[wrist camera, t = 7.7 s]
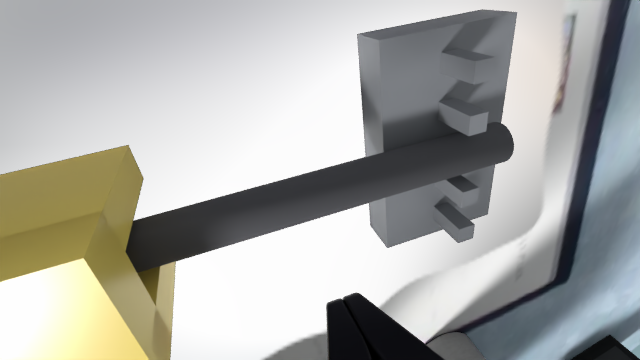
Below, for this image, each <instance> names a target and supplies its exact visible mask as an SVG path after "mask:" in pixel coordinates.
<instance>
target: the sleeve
mask: <svg viewBox="0 0 640 360" xmlns="http://www.w3.org/2000/svg"><path fill="white" fill-rule="evenodd" d="M142 182H143V176H142V174H141V172H140V170H139V167H138V165H137V163H136V161H135V159H134V156H133V154H132V152H131V150H130V148H129V145H126V146H122V147H118V148H113V149H109V150H105V151H100V152H96V153H92V154H87V155H83V156H79V157H74V158H70V159H66V160H62V161H57V162H53V163H49V164H45V165H40V166H36V167H31V168H27V169H23V170H19V171H14V172H10V173H6V174H1V175H0V360H170V354H171V334H172V318H173V299H174V282H175V281H174V280H175V264H176V261H175V262H172V263H169V264H166V265H162V266H159V267H156V268H152V269H149V270H146V271H142V272H139V273H137V272H136V270H135V268H134V266H133V265H132V263H131V261H130V259H129V257H128V256H127V254H126V252H125V251H126V247H127V243H128V239H129V235H130V231H131V227H132V223H133V219H134V215H135V211H136V207H137V203H138V199H139V195H140V190H141V186H142Z"/></svg>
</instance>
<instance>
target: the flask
mask: <svg viewBox="0 0 640 360" xmlns="http://www.w3.org/2000/svg"><path fill="white" fill-rule="evenodd" d="M427 346H428V347H430V348H431V349H432V350H434V351H435V352H436V353H437V354H439V355H440V356H441V357H443V358H444V359H445V360H486V359H485V358H484V356H483V355H482V354H481V353H480V351H479V350H478V349H477V348H476V346H475V345H474V344H473V342H472V341H471V340H470V339H469V337H468V336H467V335H466V334H463V333H459V332H452V333H446V334H443V335H441V336H439V337H436V338H435V339H433V340H432V341H431V342H429V343H428V344H427Z"/></svg>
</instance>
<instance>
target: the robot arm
mask: <svg viewBox="0 0 640 360" xmlns="http://www.w3.org/2000/svg"><path fill="white" fill-rule="evenodd" d="M326 309H327V345H328V360H445V359H444V358H443V357H441V356H440V355H439V354H437V353H436V352H435V351H434V350H432V349H431V348H430V347H428V346H427V345H426V344H424V343H423V342H422V341H421V340H419V339H418V338H417V337H415V336H414V335H413V334H411V333H410V332H409V331H408V330H406V329H405V328H404V327H402V326H401V325H400V324H398V323H397V322H396V321H395V320H393V319H392V318H391V317H389V316H388V315H387V314H385V313H384V312H383V311H382V310H380V309H379V308H378V307H376V306H375V305H374V304H372V303H371V302H369V300H367V299H366V298H365V297H363V296H362V295H361V294H359V293H353V294H351V295H348V296H345V297H344V298H343V300H342V299H337V300H334V301H331V302H328V303H327V307H326Z"/></svg>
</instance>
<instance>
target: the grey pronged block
mask: <svg viewBox="0 0 640 360" xmlns="http://www.w3.org/2000/svg"><path fill="white" fill-rule="evenodd" d="M516 16H517V12H507V11H493V10H478V11H472V12H467V13H463V14H458V15H452V16H447V17H442V18H437V19H432V20H427V21H421V22H416V23H412V24H406V25H401V26H396V27H391V28H386V29H381V30H376V31H371V32H366V33H360V34H357V38H358V52H359V66H360V81H361V95H362V110H363V124H364V138H365V153H366V157H368V156H371V155H375V154H379V153H382V152H386V151H390V150H393V149H397V148H401V147H404V146H408V145H412V144H415V143H419V142H422V141H426V140H430V139H433V138H437V137H441V136H444V135H448V134H452V133H455V132H459V131H460V132H461V133H463V134H465V135H467V136H471V135H475V134H478V133H482V132H486V129H487V124H488V123H492V122H499V123H501V119H502V113H503V106H504V99H505V92H506V86H507V78H508V72H509V65H510V58H511V51H512V44H513V38H514V30H515V23H516ZM494 168H495V165H492V166H488V167H485V168H482V169H479V170H475V171H472V172H469V173H465V174H462V175H459V176H456V177H452V178H449V179H446V180H442V181H439V182H436V183H432V184H429V185H426V186H423V187H419V188H416V189H413V190H409V191H406V192H403V193H399V194H396V195H393V196H390V197H386V198H383V199H380V200H376V201H373V202H370V203H369V210H370V225H371V227H372V228H373V229H374V231H375V232H376V233H377V235H378V236H379V237H380V239H381V240H382V241H383V243H384V244H385V245H386V247H387V248H389V247H392V246H395V245H398V244H401V243H404V242H407V241H410V240H413V239H416V238H418V237H422V236H425V235H428V234H431V233H433V232H437V231H439V230H442V229H444V230H445V231H446V232H447V233H448V234H449V235H450V236H451V237H452V238H453V239H454V240H456V242H458V243H460V242H463V241H466V240H468V239H471V238H473V233H474V224H473V223H472V222H471V221H470V220H472V219H475V218H478V217H481V216H484V215H487V214H488V208H489V202H490V195H491V188H492V181H493V174H494Z"/></svg>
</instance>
